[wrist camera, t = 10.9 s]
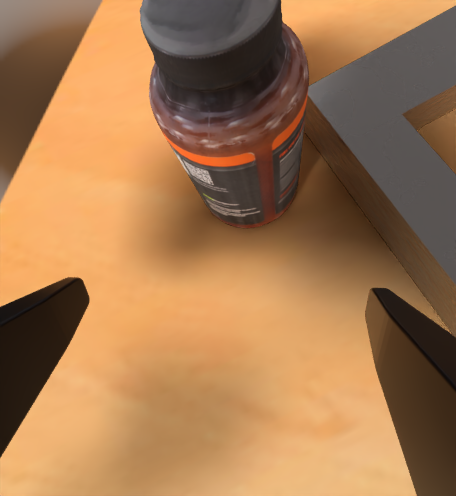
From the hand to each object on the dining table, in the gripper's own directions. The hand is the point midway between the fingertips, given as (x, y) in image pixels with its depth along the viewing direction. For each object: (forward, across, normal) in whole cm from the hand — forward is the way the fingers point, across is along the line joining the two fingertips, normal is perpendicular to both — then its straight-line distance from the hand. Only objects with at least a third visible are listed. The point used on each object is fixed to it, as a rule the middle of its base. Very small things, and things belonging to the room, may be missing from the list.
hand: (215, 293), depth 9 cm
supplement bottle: (+11, 0, 0) cm, 11 cm away
